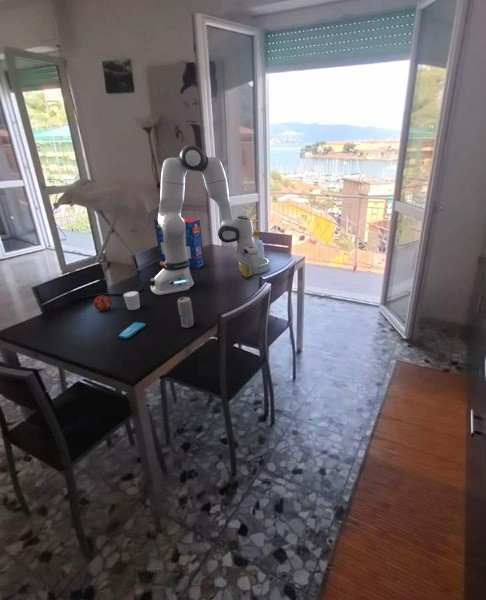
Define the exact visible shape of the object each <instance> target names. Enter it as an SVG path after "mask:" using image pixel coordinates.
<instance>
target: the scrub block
mask: <svg viewBox="0 0 486 600" xmlns="http://www.w3.org/2000/svg"><path fill="white" fill-rule="evenodd" d="M241 267H242V272H241V277H242V278H243V279H246V280H247V279H252V278H253V277H254V274H253V269H252V273H248V270H249V268H248V266H247V265H245V264H242V265H241Z"/></svg>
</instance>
